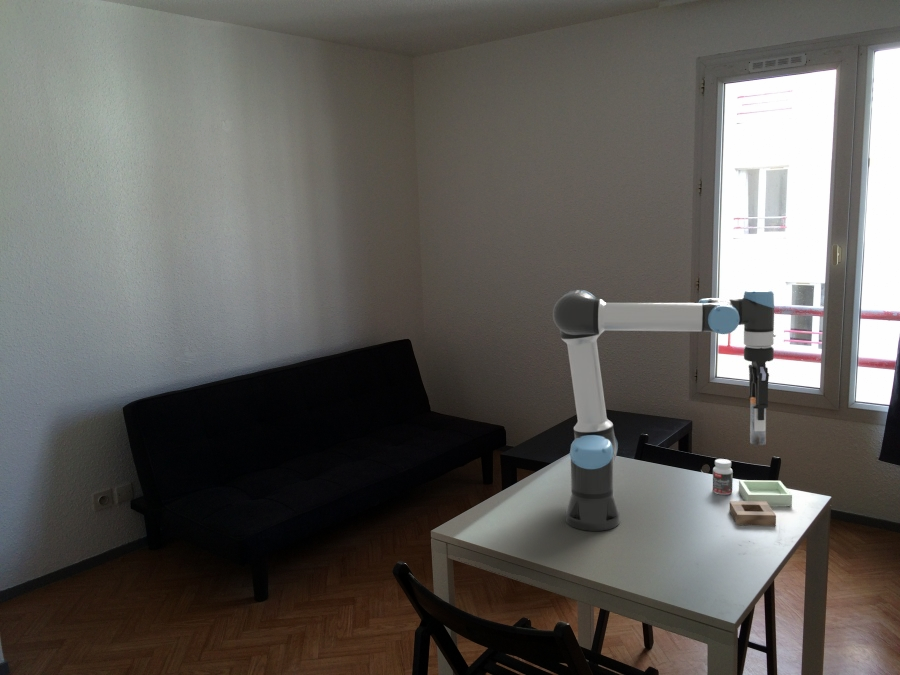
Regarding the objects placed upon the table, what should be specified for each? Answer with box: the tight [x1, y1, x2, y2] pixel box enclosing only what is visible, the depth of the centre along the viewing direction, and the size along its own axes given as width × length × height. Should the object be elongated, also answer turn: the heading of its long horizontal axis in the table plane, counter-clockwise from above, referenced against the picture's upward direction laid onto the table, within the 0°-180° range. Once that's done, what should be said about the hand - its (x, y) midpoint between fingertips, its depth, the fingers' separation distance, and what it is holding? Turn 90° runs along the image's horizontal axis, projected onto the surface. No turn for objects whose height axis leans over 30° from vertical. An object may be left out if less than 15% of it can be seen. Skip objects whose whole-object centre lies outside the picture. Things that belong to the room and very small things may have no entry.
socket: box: [728, 500, 777, 527], centre depth 204 cm, size 10×10×3 cm
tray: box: [738, 479, 793, 508], centre depth 217 cm, size 12×12×4 cm
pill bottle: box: [712, 458, 734, 496], centre depth 224 cm, size 6×6×10 cm
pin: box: [749, 396, 767, 446], centre depth 203 cm, size 4×4×13 cm
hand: (758, 428), depth 203 cm, fingers closed on pin, 4 cm apart
